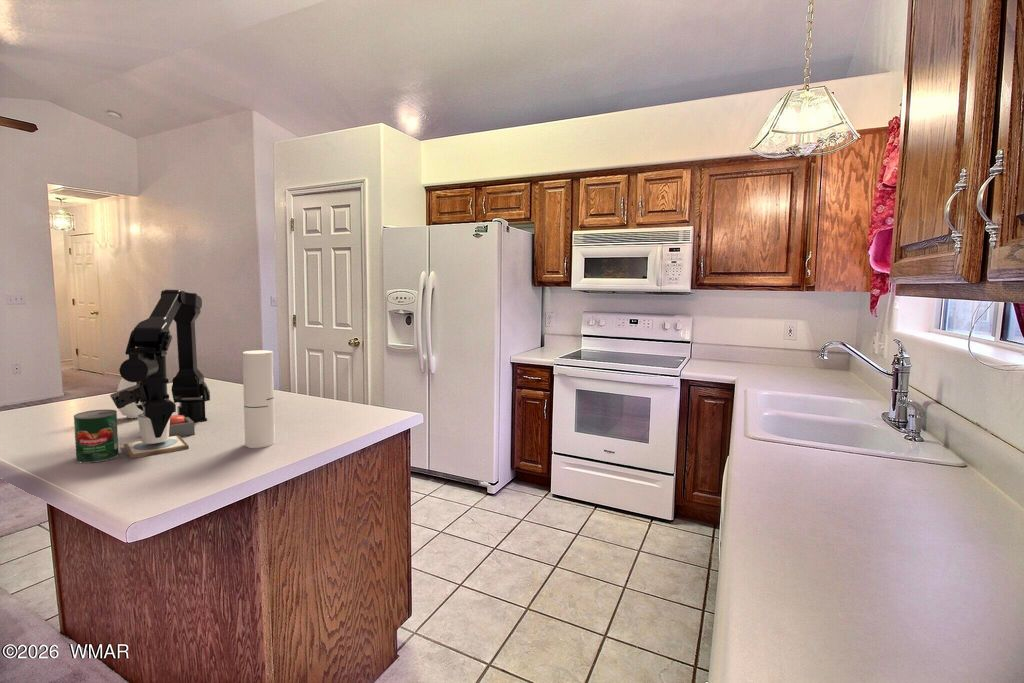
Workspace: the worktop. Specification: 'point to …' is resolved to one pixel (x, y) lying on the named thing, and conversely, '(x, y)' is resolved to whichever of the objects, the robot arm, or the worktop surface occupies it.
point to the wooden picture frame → (155, 447)
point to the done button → (177, 419)
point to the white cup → (151, 431)
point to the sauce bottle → (129, 409)
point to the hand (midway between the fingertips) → (155, 434)
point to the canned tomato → (96, 435)
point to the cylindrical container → (258, 398)
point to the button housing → (182, 428)
